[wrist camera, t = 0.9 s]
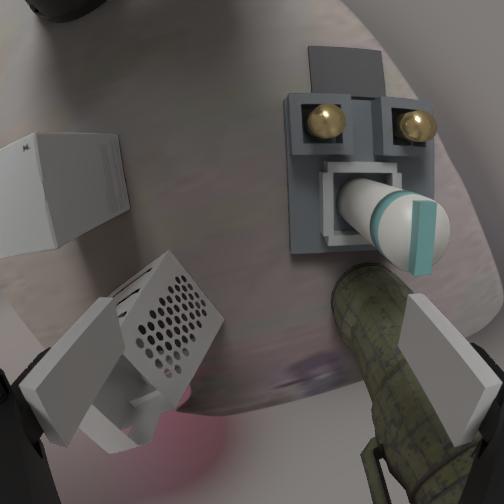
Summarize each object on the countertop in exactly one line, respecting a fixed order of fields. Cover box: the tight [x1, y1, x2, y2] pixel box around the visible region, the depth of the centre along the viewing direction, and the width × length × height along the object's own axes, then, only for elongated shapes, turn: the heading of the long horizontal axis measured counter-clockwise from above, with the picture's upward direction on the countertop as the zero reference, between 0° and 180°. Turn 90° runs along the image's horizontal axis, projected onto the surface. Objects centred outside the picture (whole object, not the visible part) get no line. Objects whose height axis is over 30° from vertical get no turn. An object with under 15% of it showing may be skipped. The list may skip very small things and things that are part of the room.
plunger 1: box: [305, 103, 346, 139], centre depth 25 cm, size 3×3×4 cm
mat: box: [308, 46, 386, 99], centre depth 29 cm, size 6×8×1 cm
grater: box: [79, 250, 225, 454], centre depth 28 cm, size 10×10×20 cm
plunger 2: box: [392, 110, 437, 142], centre depth 25 cm, size 3×3×4 cm
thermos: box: [331, 263, 482, 504], centre depth 20 cm, size 9×12×35 cm
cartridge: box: [335, 177, 450, 276], centre depth 24 cm, size 5×5×15 cm
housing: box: [283, 93, 435, 254], centre depth 30 cm, size 16×16×5 cm
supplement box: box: [0, 132, 130, 259], centre depth 26 cm, size 9×9×15 cm
